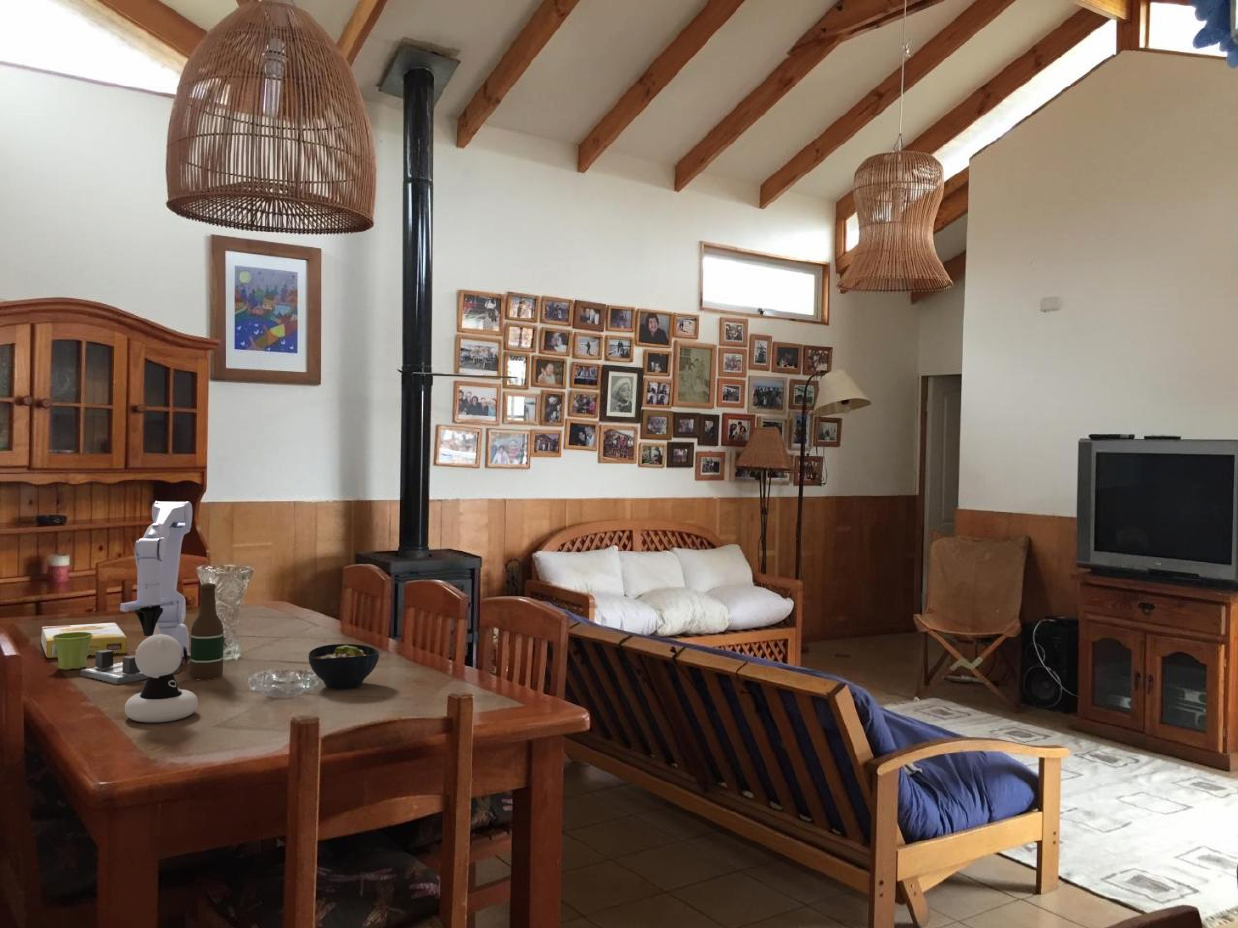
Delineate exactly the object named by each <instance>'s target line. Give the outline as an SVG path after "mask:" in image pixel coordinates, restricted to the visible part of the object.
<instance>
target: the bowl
mask: <svg viewBox="0 0 1238 928" xmlns="http://www.w3.org/2000/svg"><path fill="white" fill-rule="evenodd" d="M379 659H380V651H379V650H378V649H376V648H374V647H371V646H369V645H364V644H363V645H362V644H353V643H337V644H335V643H334V644H333V643H332V644H327V645H321V646H318V647H316V648H314V649H312V650H311V651H309V653H308V663H309V665H310V667H311V670H312V672H314V674H315V675H316V676H317V677H318V678H319V679H320V680H322V681H323V684H324V685H325V686H326V687H325V688H327V689H331V690H341V691H342V690H343V691H344V690H352V689H353V690H354V689H356V688H359V687H361V685H362V684H363V682H364V680H365V679H366V678H367V677H368V676H369V675H370V674H371V673H372V672H373V671H374V669H375V668H376V666H377V664H378V662H379Z"/></svg>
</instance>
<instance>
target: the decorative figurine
mask: <svg viewBox="0 0 1238 928" xmlns="http://www.w3.org/2000/svg"><path fill="white" fill-rule="evenodd" d="M183 647H184V646H183ZM185 648H186V647H184V648H183V654H184V661H185V664H187V662H188V656H187V649H185ZM135 650H136V654H135V653H134V655H135V662H136V665H137V667H138V669H139V670H140V671H141V672H142V673H143V674H144V675H146V676H148V679H147V680H146V682H145V684H144V685H143V688H142V690H141V692H139V693H135V694H133V695H132V696H131V697H130V698H128V699H127V701H126V702H125V704H124V712H125V714H126V716H127V717H128V718H129V719H130V720H132V721H135V722H138V723H139V722H140V723H148V724H149V723H154V724H155V723H166V722H173V721H178V720H182V719H185V718H187V717H189V716H191V715H192V714H194V712H196V710H197V708H198V705H199V699H198V697H197V695H196V694H195V693H194V692H193V691H190V690H187V689H181V688H180V686H179V682H178V681H177V679H176V676H175V675H174V674H175V673H174V674H173V672H174V671H175V670H176V669H177V668H178V667H179V668H180V667H181V668H183V665H184V663H183V657H182V655H183V654H182V648H181V646H180V644H179V643H178V641H177V640H176V639H174V638H173V637H171V636H168V635H164V634H161V631H160V629H159V627H158V624H157V623H156V626H155V630H154V633H153V636H147V638H145V639H143V640H142V641H141V643H140V644H139V645H138V646H137V649H135Z"/></svg>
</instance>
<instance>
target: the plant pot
mask: <svg viewBox="0 0 1238 928" xmlns="http://www.w3.org/2000/svg"><path fill="white" fill-rule="evenodd" d="M91 636H93V633H90V632H69V633H62V634H57V635H54V636H52V638H53V639H54V642H55V644H56V649H57V655H58V657H57V660H58V661H57V663H58V668H59V669H60V670H66V671H69V670H71V669H76V670H79V669H80V670H81V669H83V668H85V667H86V666H87V659H88V656H87V654H88V647H89V642H90V640H91Z"/></svg>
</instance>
